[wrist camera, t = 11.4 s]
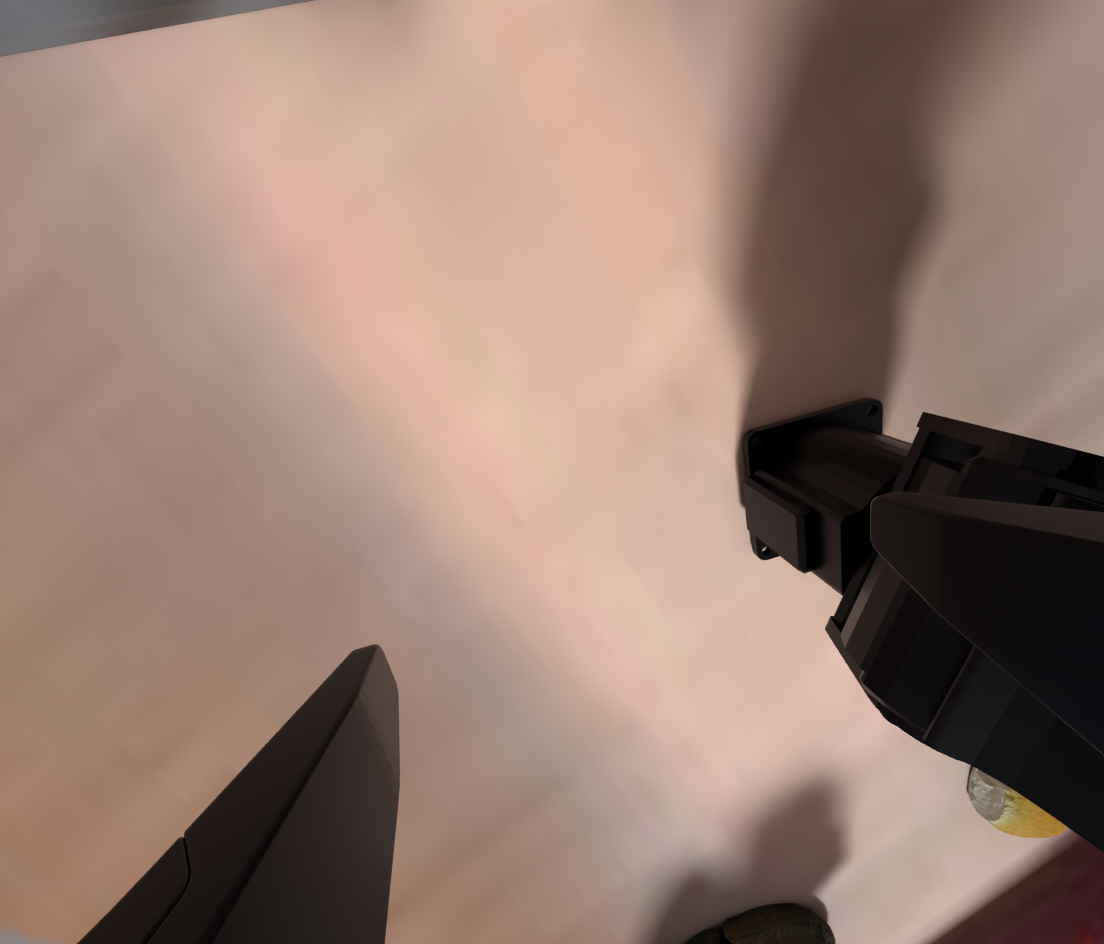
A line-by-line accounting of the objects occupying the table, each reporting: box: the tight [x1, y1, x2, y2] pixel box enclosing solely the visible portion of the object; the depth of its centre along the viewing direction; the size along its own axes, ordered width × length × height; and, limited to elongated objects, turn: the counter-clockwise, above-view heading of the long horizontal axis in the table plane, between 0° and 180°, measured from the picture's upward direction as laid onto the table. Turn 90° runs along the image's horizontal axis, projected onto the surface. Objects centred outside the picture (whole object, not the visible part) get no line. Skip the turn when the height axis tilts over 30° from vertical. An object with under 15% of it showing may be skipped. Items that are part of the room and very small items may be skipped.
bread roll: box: [968, 767, 1068, 838], centre depth 33 cm, size 8×9×4 cm
